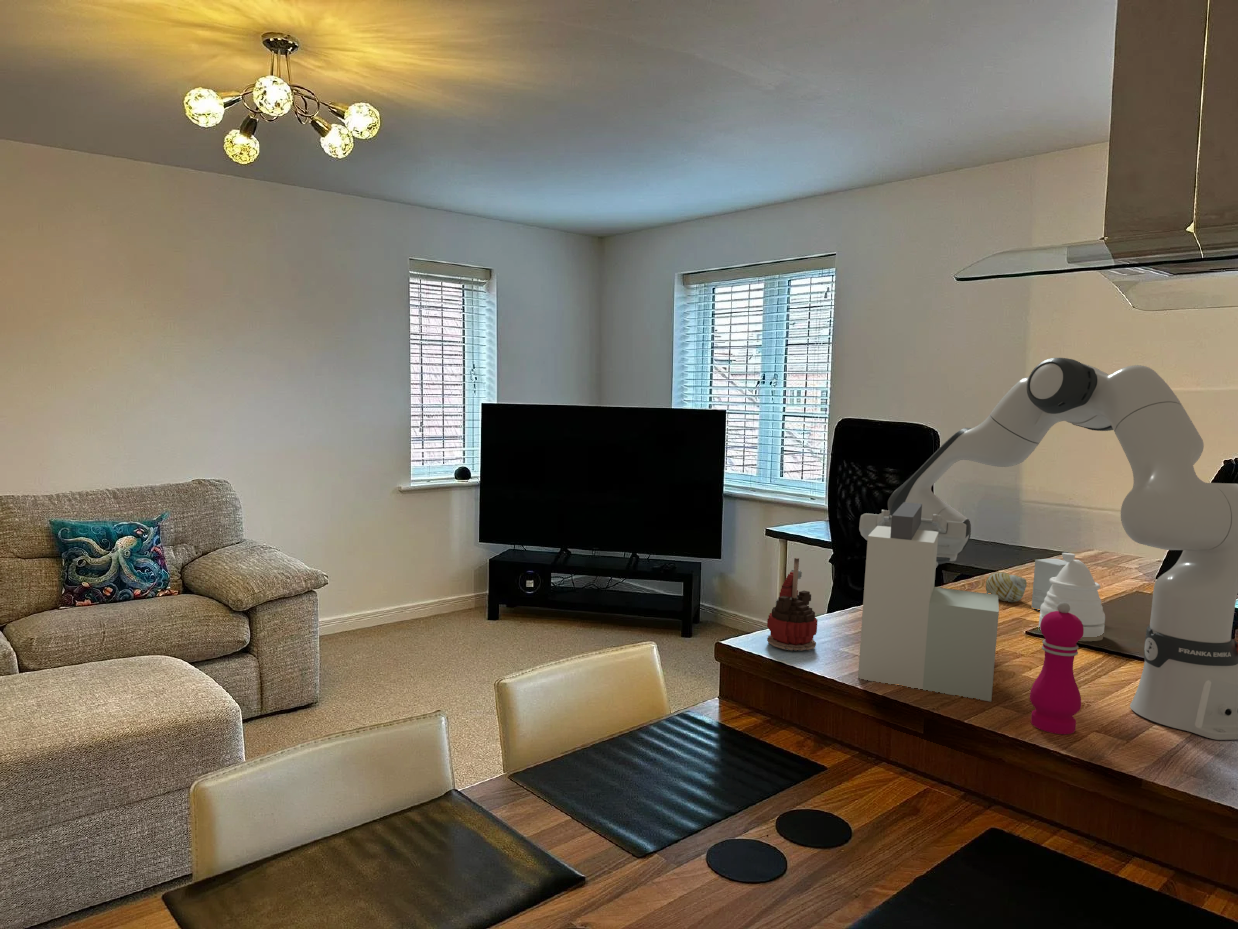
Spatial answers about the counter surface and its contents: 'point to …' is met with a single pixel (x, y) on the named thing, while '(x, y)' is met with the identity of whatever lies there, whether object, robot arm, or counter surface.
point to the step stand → (923, 622)
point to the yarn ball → (1006, 586)
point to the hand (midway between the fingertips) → (910, 515)
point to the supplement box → (1044, 578)
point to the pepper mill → (1057, 673)
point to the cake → (792, 616)
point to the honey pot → (1076, 596)
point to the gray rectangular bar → (906, 521)
